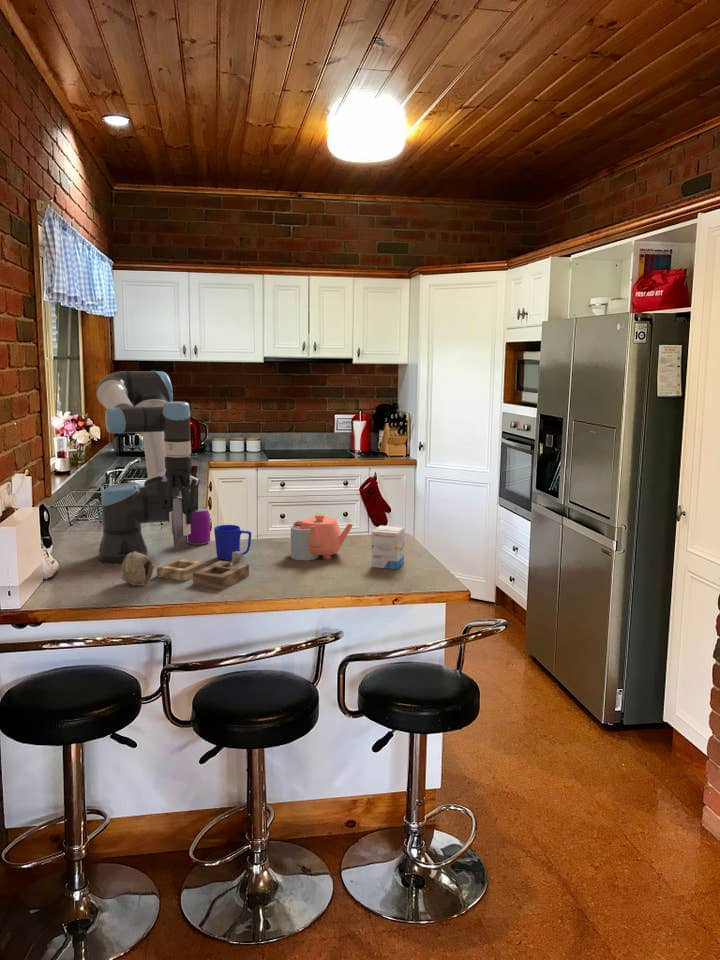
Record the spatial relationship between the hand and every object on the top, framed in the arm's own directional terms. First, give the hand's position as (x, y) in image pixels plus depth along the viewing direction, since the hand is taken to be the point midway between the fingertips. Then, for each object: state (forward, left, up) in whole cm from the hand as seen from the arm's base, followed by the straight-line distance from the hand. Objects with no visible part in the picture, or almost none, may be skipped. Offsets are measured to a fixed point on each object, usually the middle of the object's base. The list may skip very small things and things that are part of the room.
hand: (180, 533), depth 227 cm
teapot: (+29, +36, -13) cm, 48 cm away
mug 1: (+5, +21, -13) cm, 25 cm away
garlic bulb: (-6, -12, -13) cm, 18 cm away
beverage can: (-16, +33, -13) cm, 38 cm away
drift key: (+14, +6, -12) cm, 20 cm away
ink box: (+53, +35, -13) cm, 65 cm away
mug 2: (+27, +33, -13) cm, 44 cm away
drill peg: (0, 0, -4) cm, 4 cm away
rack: (0, 0, -13) cm, 13 cm away
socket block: (+14, 0, -13) cm, 19 cm away
